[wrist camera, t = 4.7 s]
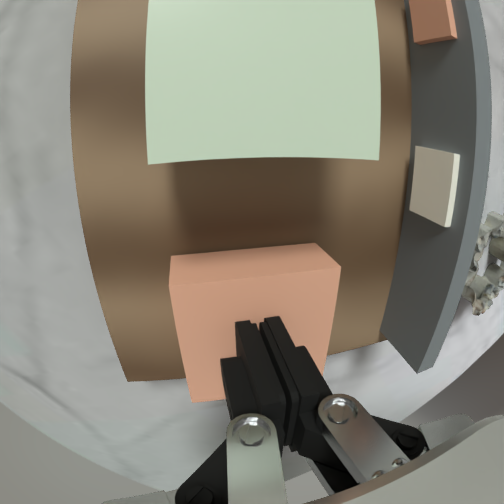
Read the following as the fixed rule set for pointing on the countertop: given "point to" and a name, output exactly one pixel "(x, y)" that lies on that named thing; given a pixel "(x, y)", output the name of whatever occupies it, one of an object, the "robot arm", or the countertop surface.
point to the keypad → (290, 188)
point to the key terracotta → (249, 304)
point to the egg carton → (495, 276)
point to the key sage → (262, 79)
